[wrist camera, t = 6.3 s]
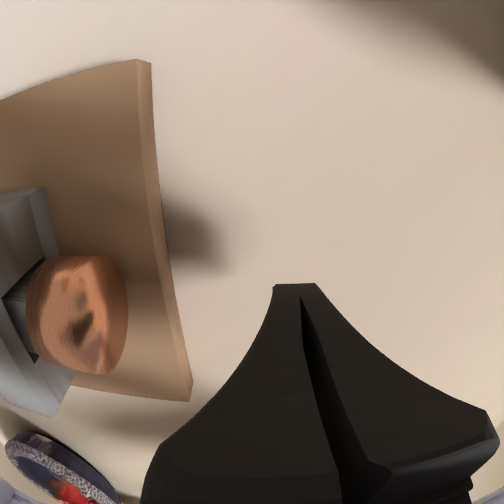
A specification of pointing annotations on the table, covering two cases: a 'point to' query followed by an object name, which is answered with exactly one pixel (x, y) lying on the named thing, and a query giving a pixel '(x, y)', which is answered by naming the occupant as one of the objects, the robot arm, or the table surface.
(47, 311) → the shaft
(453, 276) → the table surface
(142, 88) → the stand
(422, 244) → the table surface
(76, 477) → the dish
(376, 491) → the robot arm
